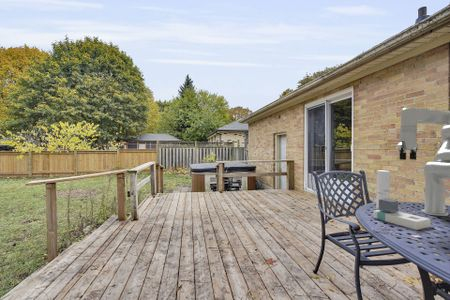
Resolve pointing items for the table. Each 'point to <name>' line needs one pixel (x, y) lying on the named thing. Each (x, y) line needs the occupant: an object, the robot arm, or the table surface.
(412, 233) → the table surface
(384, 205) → the grey rectangular block
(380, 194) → the cylindrical container
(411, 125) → the robot arm
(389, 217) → the docking board
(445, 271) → the table surface
